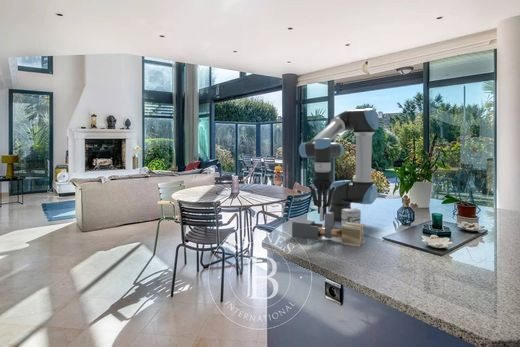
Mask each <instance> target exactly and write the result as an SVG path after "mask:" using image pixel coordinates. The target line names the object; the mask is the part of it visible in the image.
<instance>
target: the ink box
mask: <svg viewBox="0 0 520 347" xmlns="http://www.w3.org/2000/svg"><path fill="white" fill-rule="evenodd" d="M361 215H362V210H361V209H359V208H351V209H342V219H341V221H340V222H341V226H340V227H341V228H340V230H342V225H343V224H345V223H346V222H350V223H359V224H361V218H362V217H361Z"/></svg>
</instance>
